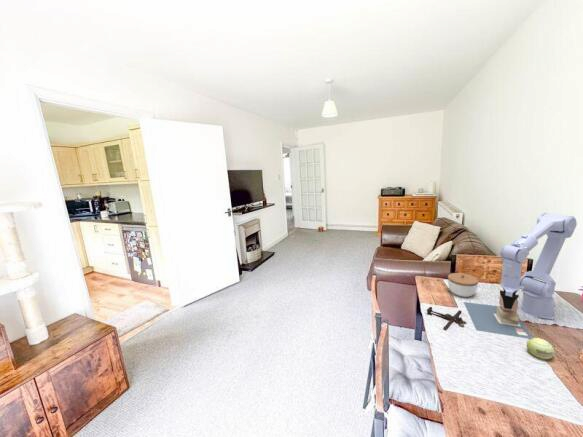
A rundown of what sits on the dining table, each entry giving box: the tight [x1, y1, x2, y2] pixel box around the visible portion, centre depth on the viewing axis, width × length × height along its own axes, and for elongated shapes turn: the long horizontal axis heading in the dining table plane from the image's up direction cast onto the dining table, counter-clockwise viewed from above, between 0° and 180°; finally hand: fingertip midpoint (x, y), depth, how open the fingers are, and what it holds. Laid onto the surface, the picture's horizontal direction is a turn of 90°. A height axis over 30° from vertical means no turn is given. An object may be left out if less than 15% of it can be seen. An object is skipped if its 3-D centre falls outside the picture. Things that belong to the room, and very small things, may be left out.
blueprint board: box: [463, 301, 535, 340], centre depth 104 cm, size 18×22×1 cm
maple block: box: [496, 305, 520, 325], centre depth 101 cm, size 6×6×4 cm
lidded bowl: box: [447, 272, 479, 298], centre depth 124 cm, size 13×13×11 cm
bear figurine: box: [426, 306, 467, 330], centre depth 106 cm, size 18×4×14 cm
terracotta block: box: [498, 294, 519, 312], centre depth 100 cm, size 4×4×4 cm
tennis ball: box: [526, 337, 555, 360], centre depth 83 cm, size 6×7×7 cm
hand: (508, 304), depth 100 cm, fingers closed on terracotta block, 6 cm apart
